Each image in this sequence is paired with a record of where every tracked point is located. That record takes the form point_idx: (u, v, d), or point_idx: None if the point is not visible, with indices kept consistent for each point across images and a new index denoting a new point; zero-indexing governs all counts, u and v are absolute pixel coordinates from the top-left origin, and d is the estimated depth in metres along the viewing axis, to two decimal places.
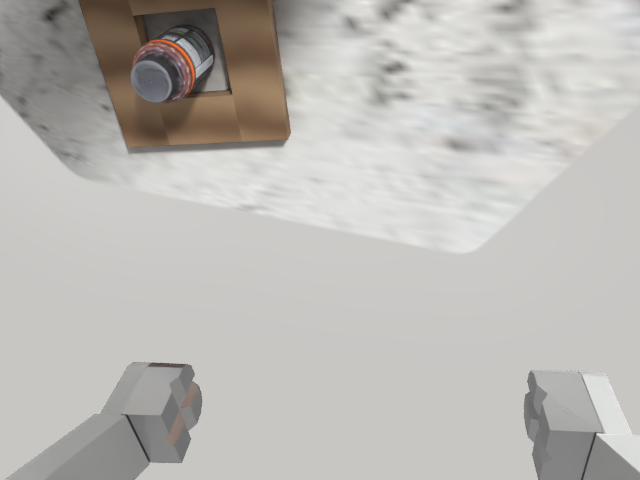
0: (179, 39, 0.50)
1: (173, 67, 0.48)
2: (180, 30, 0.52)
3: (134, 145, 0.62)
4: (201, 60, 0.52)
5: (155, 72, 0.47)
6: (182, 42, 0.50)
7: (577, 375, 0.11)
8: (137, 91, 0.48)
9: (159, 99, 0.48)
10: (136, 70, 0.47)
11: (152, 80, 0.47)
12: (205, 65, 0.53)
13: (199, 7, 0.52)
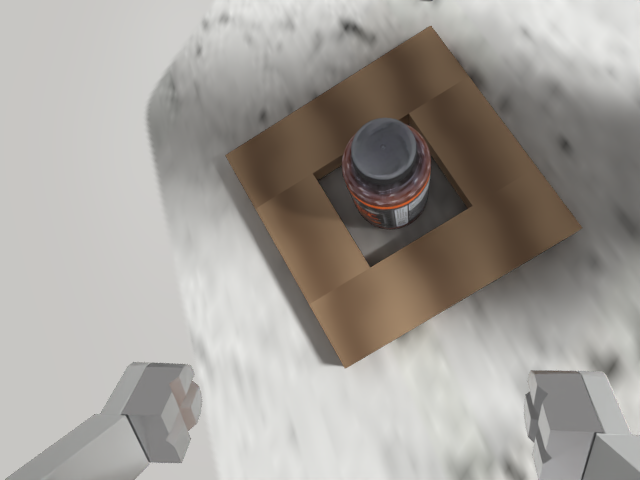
0: None
1: (411, 172, 0.32)
2: None
3: (232, 163, 0.43)
4: (411, 209, 0.36)
5: (402, 149, 0.31)
6: None
7: (578, 375, 0.11)
8: (359, 133, 0.31)
9: (364, 167, 0.31)
10: (391, 123, 0.31)
11: (387, 148, 0.31)
12: (402, 217, 0.37)
13: (462, 187, 0.39)
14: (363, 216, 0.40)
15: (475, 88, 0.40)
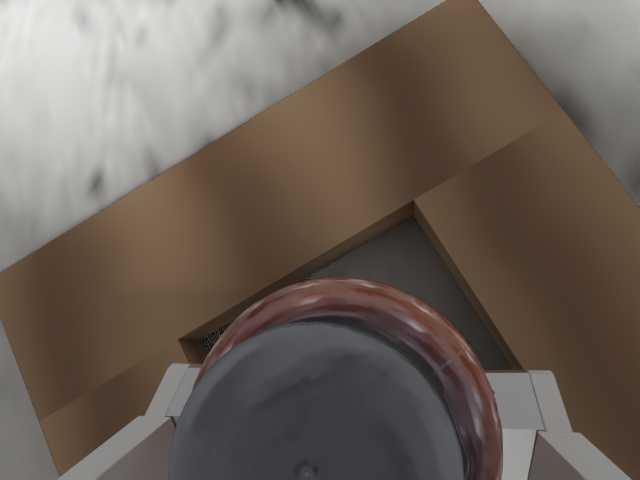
0: None
1: None
2: None
3: None
4: None
5: None
6: None
7: (526, 374, 0.11)
8: (206, 395, 0.07)
9: None
10: (347, 360, 0.07)
11: None
12: None
13: None
14: None
15: (582, 142, 0.16)
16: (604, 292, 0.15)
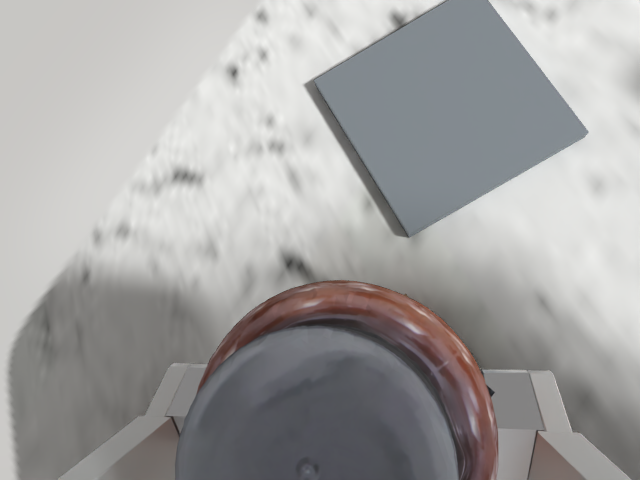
0: None
1: None
2: None
3: None
4: None
5: None
6: None
7: (526, 374, 0.11)
8: (212, 396, 0.07)
9: None
10: (346, 362, 0.07)
11: None
12: None
13: None
14: None
15: None
16: None
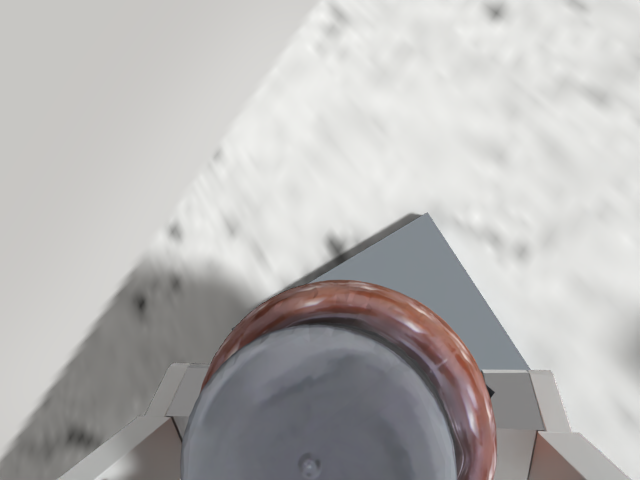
0: None
1: None
2: None
3: None
4: None
5: None
6: None
7: (525, 374, 0.11)
8: (216, 393, 0.07)
9: None
10: (347, 360, 0.07)
11: (330, 479, 0.07)
12: None
13: None
14: None
15: None
16: None
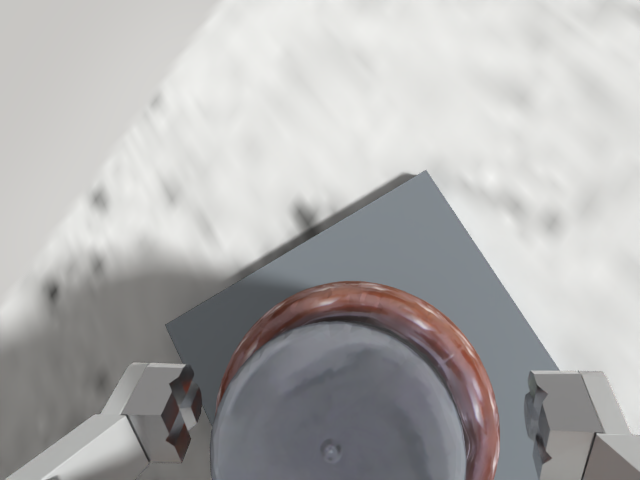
0: None
1: None
2: None
3: None
4: None
5: (407, 472, 0.07)
6: None
7: (578, 375, 0.11)
8: (243, 385, 0.08)
9: None
10: (364, 354, 0.08)
11: (350, 463, 0.08)
12: None
13: None
14: None
15: None
16: None
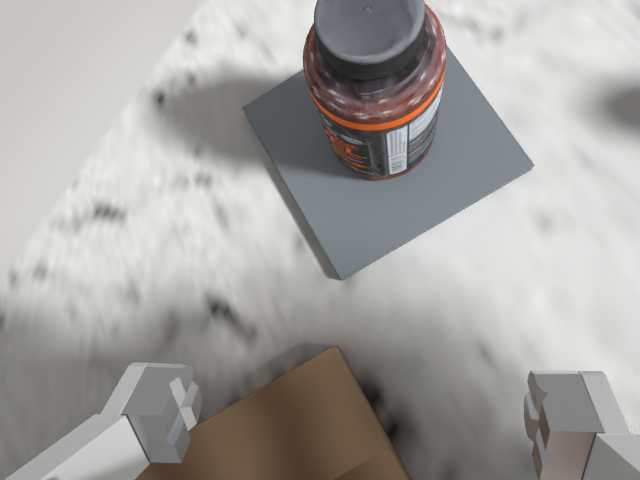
0: None
1: (414, 61, 0.19)
2: None
3: None
4: (412, 139, 0.23)
5: (400, 12, 0.18)
6: None
7: (577, 375, 0.11)
8: None
9: (335, 43, 0.18)
10: None
11: (376, 12, 0.18)
12: (398, 154, 0.24)
13: None
14: (340, 158, 0.27)
15: (398, 472, 0.24)
16: None
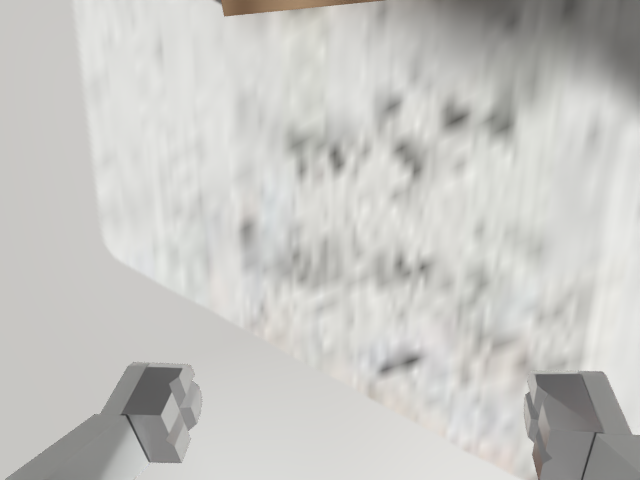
0: None
1: None
2: None
3: None
4: None
5: None
6: None
7: (578, 375, 0.11)
8: None
9: None
10: None
11: None
12: None
13: None
14: None
15: None
16: None
